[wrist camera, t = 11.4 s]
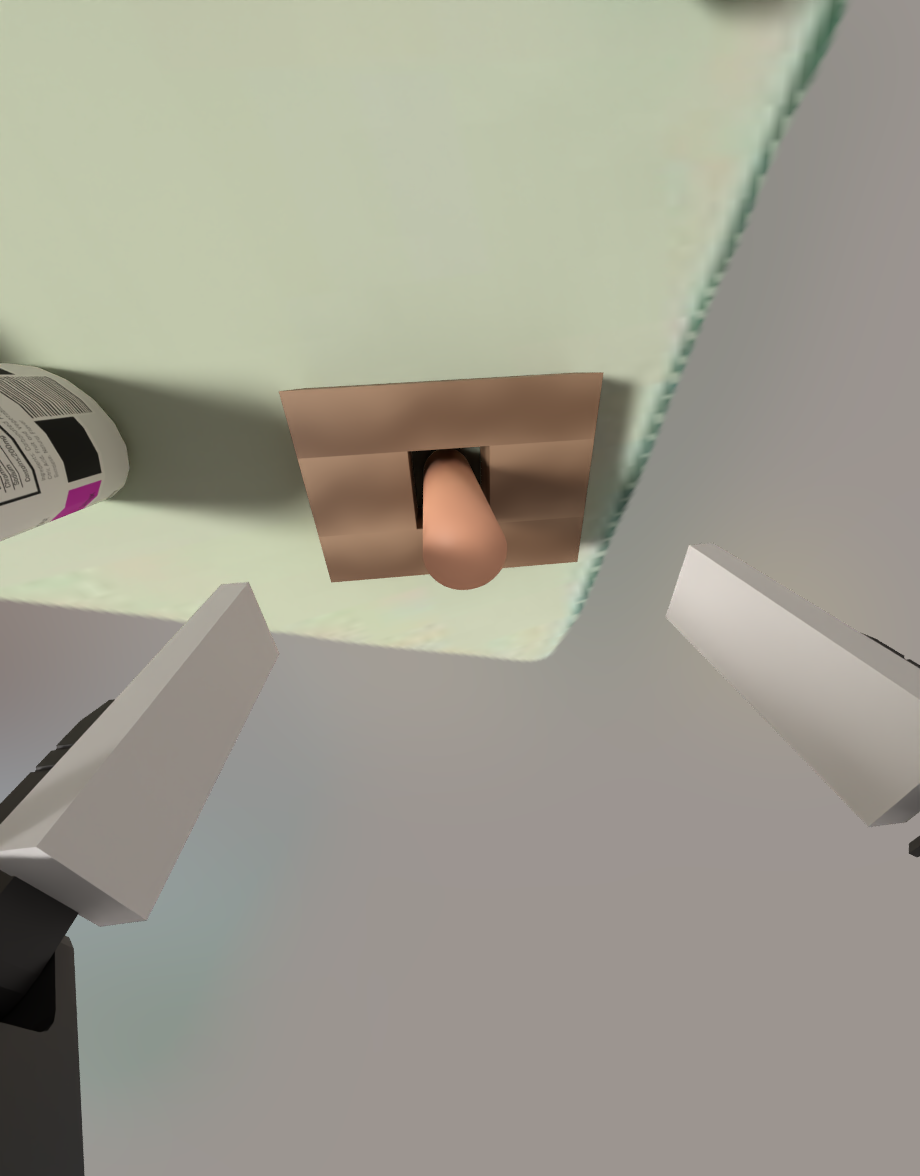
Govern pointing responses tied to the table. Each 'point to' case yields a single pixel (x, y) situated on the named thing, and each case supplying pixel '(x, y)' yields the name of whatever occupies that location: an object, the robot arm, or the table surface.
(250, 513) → the table surface
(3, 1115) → the robot arm
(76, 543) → the table surface
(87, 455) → the supplement can
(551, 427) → the hole block
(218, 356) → the table surface
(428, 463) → the dowel pin
